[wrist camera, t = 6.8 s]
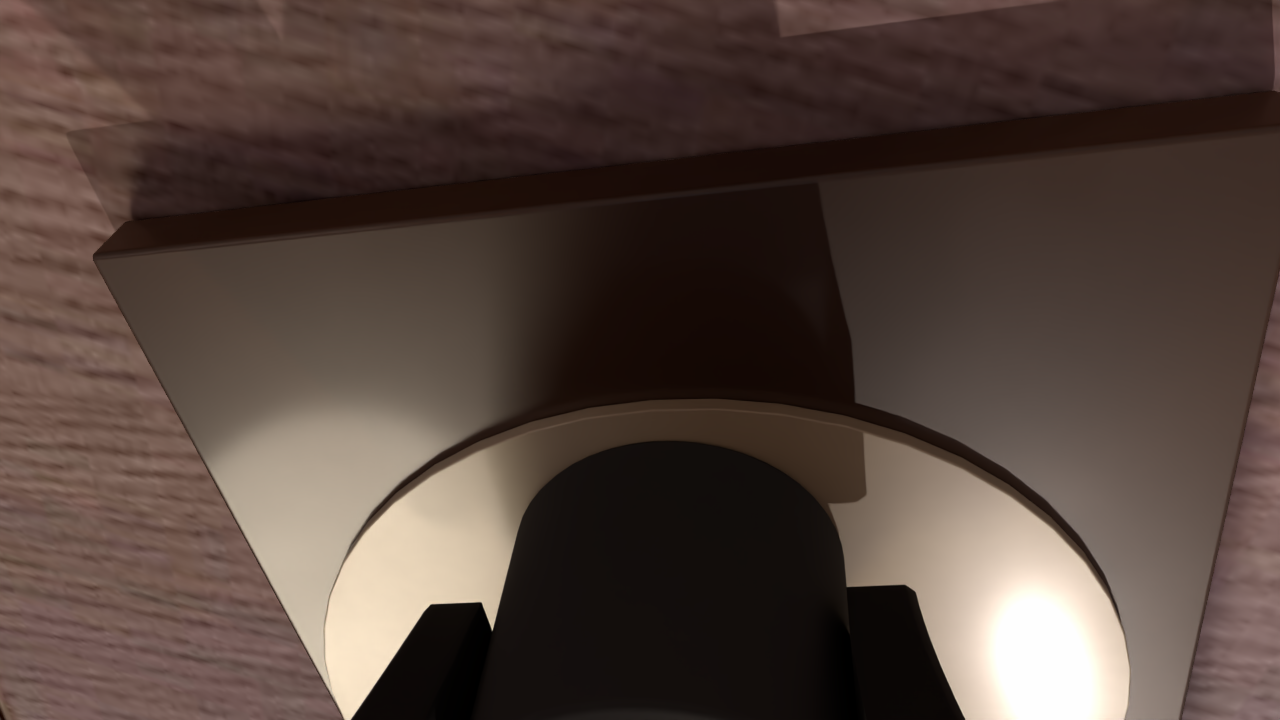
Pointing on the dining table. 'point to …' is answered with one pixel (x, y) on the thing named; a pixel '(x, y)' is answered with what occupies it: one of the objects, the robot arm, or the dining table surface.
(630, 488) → the dot
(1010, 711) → the board
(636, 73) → the dining table surface
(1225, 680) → the dining table surface
